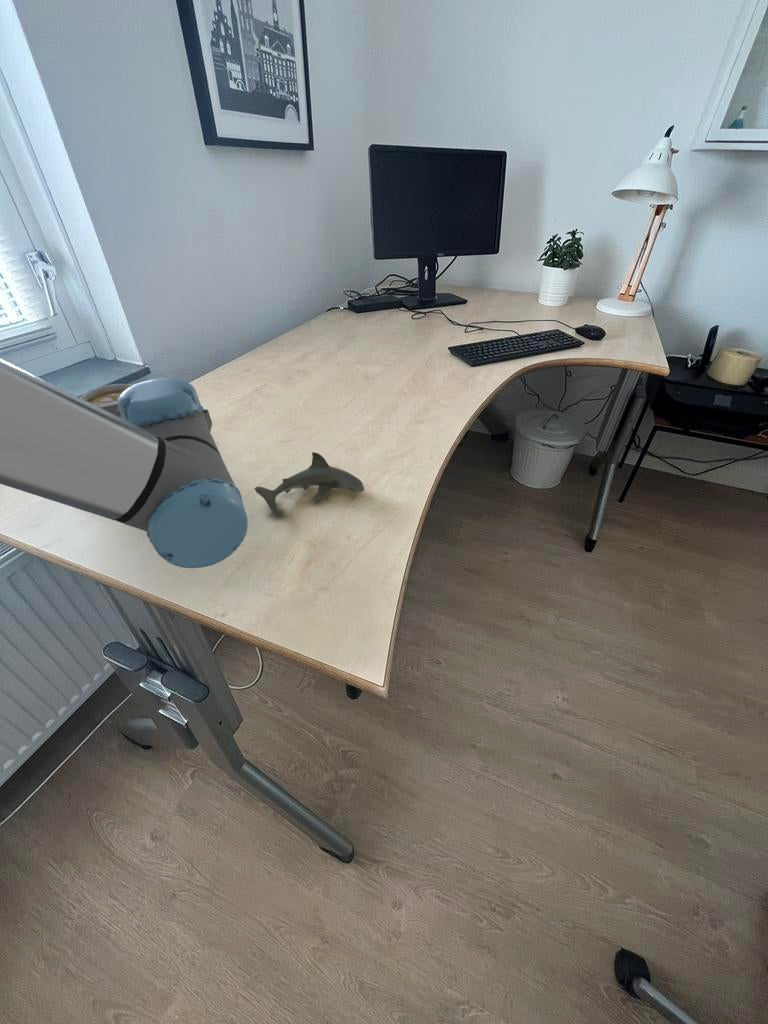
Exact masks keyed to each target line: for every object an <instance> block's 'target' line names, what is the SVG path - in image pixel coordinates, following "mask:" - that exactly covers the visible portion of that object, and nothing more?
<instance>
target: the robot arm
mask: <svg viewBox="0 0 768 1024" xmlns="http://www.w3.org/2000/svg"><path fill="white" fill-rule="evenodd" d="M132 385H133V386H131V387H129V388H128V389H126V390H125V391H124V392H123V393H122V394H121V395H120V397H119V399H118V407H119V410H120V412H121V415H122V418H123V419H122V418H120V417H118V416H116V415H114V414H112V413H110V412H108V411H106V410H104V409H102V408H100V407H98V406H96V405H94V404H91V403H89V402H87V401H85V400H83V399H81V398H80V397H79V396H77V395H75V394H73V393H71V392H69V391H67V390H65V389H63V388H61V387H58V386H57V385H55V384H52V383H51V382H49V381H47V380H45V379H43V378H40V377H38V376H36V375H34V374H32V373H30V372H28V371H26V370H24V369H21V368H20V367H18V366H15V365H14V364H12V363H10V362H8V361H5V360H3V359H1V358H0V485H3V486H6V487H8V488H11V489H12V488H13V489H15V490H18V491H21V492H25V493H27V494H30V495H33V496H37V497H40V498H43V499H46V500H50V501H52V502H56V503H59V504H62V505H65V506H68V507H71V508H74V509H78V510H81V511H84V512H86V513H90V514H92V515H96V516H99V517H103V518H105V519H108V520H112V521H115V522H118V523H121V524H123V525H126V526H128V527H131V528H134V529H138V530H141V531H145V532H146V537H147V538H148V539H149V542H150V543H151V545H152V547H153V549H154V551H155V552H156V553H157V554H158V556H159V557H161V558H162V559H163V560H165V561H166V562H167V563H169V564H170V565H173V566H175V567H179V568H183V569H184V568H185V569H199V568H206V567H207V568H208V567H210V566H214V565H216V564H218V563H221V562H223V561H224V560H226V559H227V558H229V557H230V556H232V555H233V554H234V553H235V552H236V551H237V550H238V548H239V547H240V546H241V544H242V543H243V542H244V540H245V538H246V536H247V532H248V524H249V523H248V522H249V521H248V515H247V512H246V509H245V507H244V502H243V498H242V493H241V492H240V491H241V490H240V489H239V488H238V486H237V485H236V484H235V482H234V480H233V478H232V476H231V474H230V472H229V470H228V468H227V466H226V464H225V462H224V459H223V457H222V455H221V452H220V451H219V448H218V446H217V444H216V442H215V440H214V438H213V436H212V433H211V431H212V427H213V421H212V419H211V415H210V412H209V409H207V408H206V409H205V408H204V406H202V405H201V401H200V398H199V396H198V392H197V390H196V388H195V387H194V386H193V385H192V384H191V383H190V382H188V381H187V380H184V379H181V378H173V377H164V378H163V377H161V378H154V379H149V380H145V381H141V382H139V383H135V384H132Z"/></svg>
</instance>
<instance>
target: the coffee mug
mask: <svg viewBox="0 0 768 1024" xmlns="http://www.w3.org/2000/svg"><path fill="white" fill-rule="evenodd" d="M133 385H134V384H131V383H130V384H129V383H114V384H113V383H112V384H108V385H107V384H106V385H104V386H100V387H96V388H94V389H91V390H89V391H87V392H86V393H84V394H82V395H81V396H80V397H79V398H81V399H83V400H85V401H87V402H89V403H91V404H94V405H96V406H98V407H100V408H102V409H104V410H106V411H108V412H110V413H112V414H114V415H116V416H118V417H120V418H122V415H121V412H120V410H119V407H118V399H119V397H120V395H121V394H122V393H123V392H124V391H125V390H126V389H128V388H129V387H131V386H133ZM122 419H123V418H122Z"/></svg>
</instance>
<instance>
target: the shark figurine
mask: <svg viewBox="0 0 768 1024" xmlns="http://www.w3.org/2000/svg"><path fill="white" fill-rule="evenodd" d="M311 455H312V457H311V460H312V461H311V465H310V466H309V467H307V468H305V469H303V470H302V471H300V472H299V471H298V472H297V473H295V474H293V475H291V476H290V477H287V478H282V479H281V481H282V482H281V483H280V484H279V485H278V486H277V487H276V488H274V489H269V488H266V487H263V486H255V487H254V492H256V494H258V495H259V496H260V497H262V498H263V499H264V501H265V502H266V504H267V506H268V507H269V509H270V511H271V512H272V513H273V514H274V515H275V516H276V517H278V516H279V510H278V508H277V507H278V506H277V503H276V499H277V496H278V495H280V494H281V493H286V494H288V493H290V491H292V490H294V489H298V490H299V489H303V491H308V490H309V489H310V488H311V487H315V486H318V487H317V492H316V493H315V495H314V496H313V497H312V498H311V501H312V502H313V501H321V500H323V499H325V498H326V497H327V496H328V494H330V492H331V491H332V490H333V489H336V490H337V489H339V490H342V491H346V492H348V493H350V494H352V493H353V494H354V493H362V492H365V486H364V483H363V481H362V480H361V479H360V478H358V477H357V476H355V475H353V474H352V473H351V472H348V471H347V470H344V469H342V468H338V467H336V466H331V465H329V464H328V462H327V460H326V459H325V458H324V456H323V455H322V454H320V453H318V452H316V451H315V452H314V451H313V452H311Z"/></svg>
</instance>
